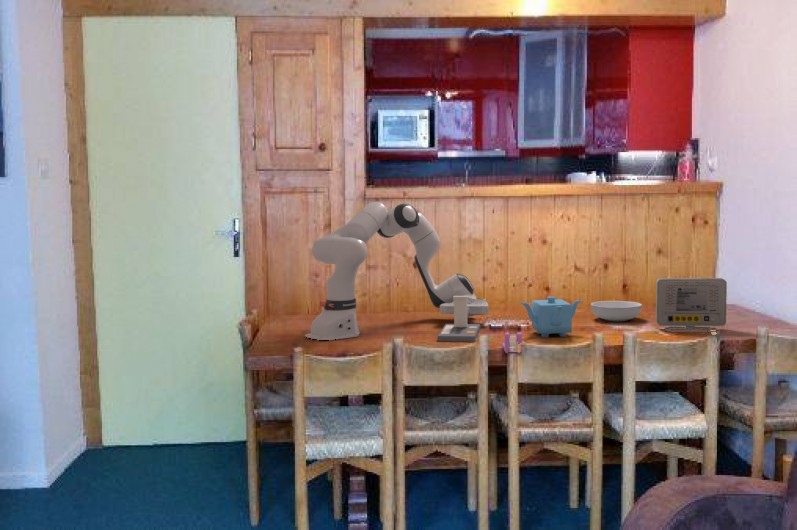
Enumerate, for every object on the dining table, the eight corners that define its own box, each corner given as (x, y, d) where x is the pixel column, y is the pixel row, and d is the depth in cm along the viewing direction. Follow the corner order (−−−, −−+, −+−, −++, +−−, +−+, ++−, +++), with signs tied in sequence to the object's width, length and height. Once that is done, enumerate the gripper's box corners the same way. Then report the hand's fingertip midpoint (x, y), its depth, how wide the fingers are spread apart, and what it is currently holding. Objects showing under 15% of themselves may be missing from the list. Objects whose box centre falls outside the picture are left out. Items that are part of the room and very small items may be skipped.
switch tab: (454, 326, 329) (453, 295, 328) (468, 326, 328) (467, 295, 327) (453, 327, 326) (452, 296, 325) (467, 327, 325) (467, 296, 324)
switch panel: (445, 328, 337) (445, 323, 336) (480, 328, 334) (480, 323, 334) (437, 341, 311) (437, 335, 311) (474, 341, 309) (474, 336, 308)
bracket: (521, 353, 287) (521, 333, 287) (505, 353, 287) (505, 333, 287) (517, 345, 300) (517, 326, 299) (501, 346, 300) (501, 327, 300)
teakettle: (543, 328, 331) (542, 292, 330) (585, 333, 319) (585, 295, 318) (517, 336, 317) (517, 298, 316) (561, 341, 305) (560, 302, 304)
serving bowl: (652, 319, 346) (652, 303, 345) (621, 326, 333) (621, 309, 332) (611, 314, 362) (611, 298, 361) (580, 320, 349) (580, 304, 348)
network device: (722, 327, 323) (723, 277, 321) (727, 331, 315) (728, 280, 313) (654, 327, 328) (655, 277, 326) (657, 331, 319) (658, 280, 317)
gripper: (441, 299, 350) (436, 303, 336) (489, 299, 346) (487, 304, 333) (441, 313, 351) (437, 319, 337) (489, 314, 347) (487, 319, 333)
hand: (462, 311), depth 335 cm, fingers closed
